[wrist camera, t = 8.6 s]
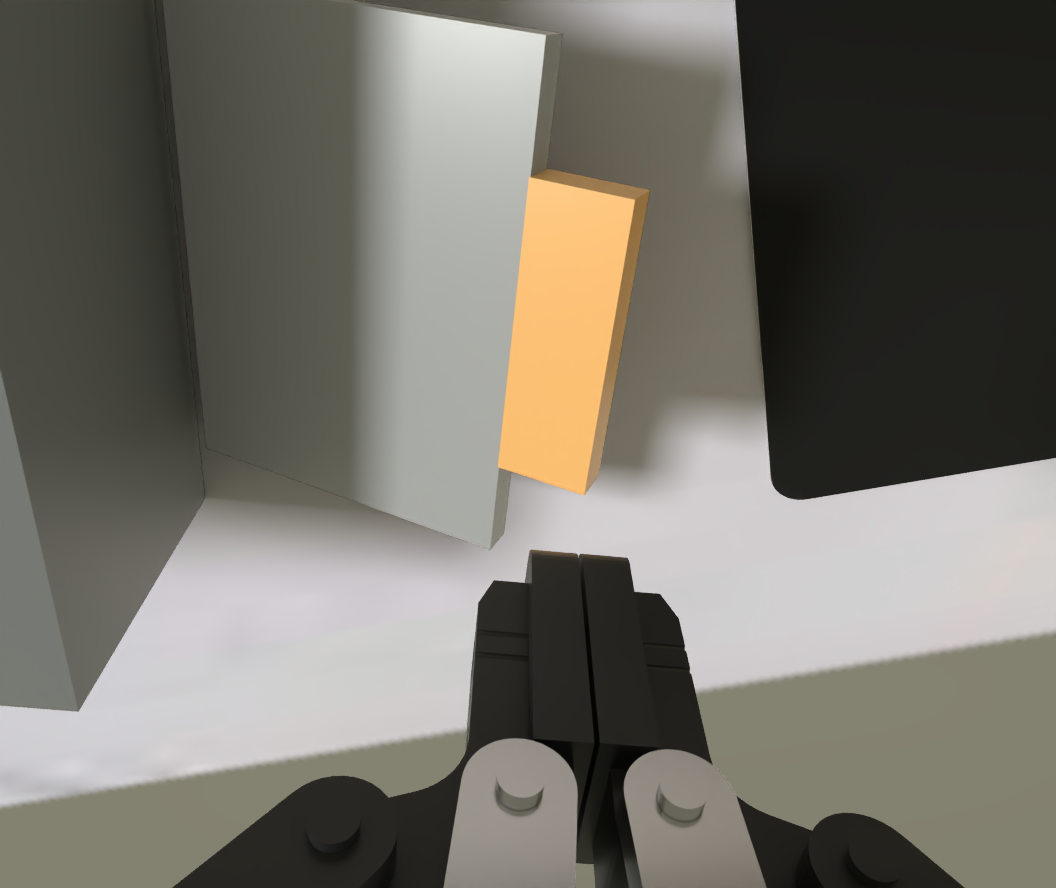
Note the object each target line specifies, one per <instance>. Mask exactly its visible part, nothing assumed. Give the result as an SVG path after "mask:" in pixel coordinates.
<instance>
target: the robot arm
mask: <svg viewBox="0 0 1056 888" xmlns="http://www.w3.org/2000/svg"><path fill="white" fill-rule="evenodd" d="M576 863H583V864H594V875H595V887H596V888H964V887H963V886H962V885H961V884H959V883H958V882H957V881H956V880H955V879H953V878H952V877H951V876H950V875H949V874H947V873H946V872H945V871H944V870H943V869H941V868H940V867H939V866H938V865H937V864H935V863H934V862H933V861H932V860H931V859H930V858H928V857H927V856H926V855H925V854H924V853H922V852H921V851H920V850H919V849H918V848H916V847H915V846H914V845H913V844H912V843H911V842H909V841H908V840H907V839H906V838H904V837H903V836H902V835H901V834H899V833H898V832H897V831H895V830H894V829H893V828H891V827H889V826H888V825H886V824H884V823H883V822H880V821H878V820H876V819H874V818H871V817H868V816H864V815H860V814H854V813H839V814H834V815H831V816H828V817H826V818H824V819H823V820H821V821H820V822H819V823H818V824H817V825H816V826H815V827H814V829H813V831H811V830H808V829H806V828H803V827H801V826H798V825H795V824H792V823H790V822H787V821H784V820H781V819H779V818H776V817H773V816H770V815H768V814H766V813H763V812H761V811H759V810H757V809H755V808H753V807H752V806H750V805H748V804H747V803H745V802H744V801H743V800H741V799H740V798H738V797H737V796H736V794H735V792H734V790H733V788H732V786H731V785H730V783H729V781H728V780H727V779H726V778H725V777H724V775H723V774H722V773H721V772H720V771H719V770H718V769H717V768H715V767H714V766H713V764H712V761H711V758H710V755H709V750H708V746H707V741H706V737H705V733H704V728H703V724H702V719H701V715H700V710H699V706H698V702H697V697H696V693H695V688H694V684H693V680H692V675H691V674H690V666H689V662H688V657H687V653H686V651H685V644H684V640H683V635H682V631H681V627H680V622H679V618H678V617H677V616H676V615H675V613H674V612H673V611H672V609H671V608H670V607H669V605H668V604H667V603H666V601H665V600H664V599H663V598H662V596H661V595H660V594H653V593H641V592H634V587H633V581H632V575H631V569H630V563H629V560H628V558H624V557H612V556H600V555H588V554H580V555H579V558H578V555H577V554H574V553H563V552H551V551H539V550H530V553H529V558H528V564H527V571H526V579H525V583H519V582H507V581H495V580H494V581H493V583H492V584H491V586H490V587H489V588H488V590H487V591H486V593H485V594H484V596H483V597H482V598H481V600H480V601H479V603H478V613H477V622H476V632H475V642H474V651H473V661H472V670H471V682H470V695H469V709H468V722H467V736H466V749H465V755H464V757H463V759H462V760H461V762H460V764H459V765H458V766H457V767H456V768H455V770H454V771H453V772H452V773H451V774H449V775H448V776H447V777H446V778H445V779H443V780H441V781H440V782H438V783H437V784H434V785H433V786H430V787H428V788H425V789H422V790H419V791H416V792H411V793H407V794H403V795H398V796H394V797H390V798H388V797H387V796H386V795H385V794H384V793H383V792H382V791H381V790H380V789H379V788H378V787H376V786H375V785H373V784H372V783H369V782H367V781H365V780H363V779H359V778H355V777H349V776H331V777H326V778H321V779H318V780H315V781H312V782H310V783H308V784H306V785H304V786H302V787H300V788H299V789H297V790H296V791H294V792H293V793H292V794H290V795H289V796H288V797H287V798H285V799H284V800H283V801H281V802H280V803H279V804H278V805H276V806H275V807H274V808H273V809H271V810H270V811H269V812H268V813H266V814H265V815H264V816H262V817H261V818H260V819H259V820H257V821H256V822H255V823H254V824H252V825H251V826H250V827H249V828H247V829H246V830H245V831H243V832H242V833H241V834H240V835H238V836H237V837H236V838H235V839H233V840H232V841H231V842H230V843H228V844H227V845H226V846H225V847H223V848H222V849H221V850H220V851H218V852H217V853H216V854H215V855H213V856H212V857H211V858H209V859H208V860H207V861H206V862H204V863H203V864H202V865H200V866H199V867H198V868H197V869H195V870H194V871H193V872H192V873H190V874H189V875H188V876H187V877H185V878H184V879H183V880H181V881H180V882H179V883H178V884H176V885H175V886H174V887H173V888H575V881H576Z"/></svg>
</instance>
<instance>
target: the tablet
mask: <svg viewBox="0 0 1056 888" xmlns="http://www.w3.org/2000/svg"><path fill="white" fill-rule="evenodd" d="M733 1H734V14H735V27H736V40H737V53H738V66H739V79H740V92H741V105H742V118H743V131H744V144H745V157H746V170H747V183H748V196H749V209H750V222H751V235H752V248H753V261H754V274H755V287H756V300H757V313H758V326H759V339H760V352H761V365H762V378H763V391H764V404H765V417H766V430H767V443H768V456H769V469H770V479H771V482H772V484H773V486H774V488H775V489H776V490H777V491H778V492H779V493H780V494H781V495H783V496H785V497H787V498H791V499H797V500H804V499H811V498H817V497H823V496H829V495H835V494H841V493H847V492H853V491H859V490H865V489H871V488H877V487H883V486H889V485H895V484H901V483H907V482H913V481H919V480H925V479H931V478H937V477H943V476H949V475H955V474H961V473H967V472H973V471H979V470H985V469H991V468H997V467H1003V466H1009V465H1015V464H1021V463H1027V462H1033V461H1039V460H1045V459H1051V458H1056V0H733Z"/></svg>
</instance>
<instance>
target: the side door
mask: <svg viewBox="0 0 1056 888" xmlns="http://www.w3.org/2000/svg"><path fill="white" fill-rule="evenodd" d="M163 10H164V20H165V31H166V41H167V51H168V62H169V72H170V82H171V92H172V103H173V113H174V123H175V134H176V144H177V154H178V164H179V175H180V185H181V195H182V205H183V216H184V226H185V236H186V247H187V257H188V267H189V277H190V288H191V298H192V308H193V319H194V329H195V339H196V349H197V360H198V370H199V380H200V391H201V401H202V411H203V421H204V432H205V442H206V448H208V449H210V450H213V451H216V452H219V453H222V454H224V455H227V456H230V457H233V458H235V459H238V460H241V461H244V462H247V463H249V464H252V465H255V466H258V467H260V468H263V469H266V470H269V471H272V472H274V473H277V474H280V475H283V476H285V477H288V478H291V479H294V480H297V481H299V482H302V483H305V484H308V485H310V486H313V487H316V488H319V489H322V490H324V491H327V492H330V493H333V494H335V495H338V496H341V497H344V498H347V499H349V500H352V501H355V502H358V503H360V504H363V505H366V506H369V507H372V508H374V509H377V510H380V511H383V512H385V513H388V514H391V515H394V516H397V517H399V518H402V519H405V520H408V521H410V522H413V523H416V524H419V525H422V526H424V527H427V528H430V529H433V530H436V531H438V532H441V533H444V534H447V535H449V536H452V537H455V538H458V539H461V540H463V541H466V542H469V543H472V544H474V545H477V546H480V547H483V548H486V549H488V550H491V548H492V547H493V546H494V545H495V543H496V542H497V541H498V540H499V539H500V537H501V536H502V535H503V534H504V529H505V520H506V512H507V503H508V495H509V486H510V478H511V472H514V473H517V474H520V475H523V476H527V477H530V478H533V479H536V480H539V481H542V482H545V483H548V484H551V485H554V486H557V487H560V488H563V489H566V490H569V491H572V492H575V493H578V494H582V495H585V494H586V492H587V491H588V489H589V488H590V487H591V485H592V484H593V482H594V481H595V479H596V478H597V477H598V475H599V470H600V465H601V459H602V454H603V448H604V442H605V437H606V431H607V426H608V420H609V415H610V409H611V404H612V398H613V392H614V387H615V381H616V376H617V370H618V365H619V359H620V354H621V348H622V342H623V337H624V331H625V326H626V320H627V315H628V309H629V304H630V298H631V292H632V287H633V281H634V276H635V270H636V265H637V259H638V254H639V248H640V242H641V237H642V231H643V226H644V220H645V215H646V209H647V204H648V198H649V193H650V190H648V189H643V188H638V187H633V186H628V185H624V184H619V183H614V182H609V181H605V180H600V179H595V178H590V177H585V176H581V175H576V174H571V173H566V172H562V171H557V170H552V169H547V163H548V155H549V146H550V138H551V129H552V121H553V112H554V104H555V95H556V87H557V78H558V70H559V61H560V53H561V44H562V36H563V33H556V32H550V31H544V30H537V29H531V28H524V27H518V26H512V25H505V24H499V23H493V22H486V21H480V20H474V19H467V18H461V17H455V16H448V15H442V14H436V13H429V12H423V11H417V10H410V9H404V8H397V7H391V6H385V5H378V4H372V3H366V2H359V1H353V0H163Z"/></svg>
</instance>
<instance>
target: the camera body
mask: <svg viewBox="0 0 1056 888" xmlns="http://www.w3.org/2000/svg"><path fill="white" fill-rule="evenodd" d="M204 499H205V495H204V485H203V475H202V466H201V456H200V446H199V436H198V426H197V416H196V407H195V397H194V387H193V377H192V367H191V357H190V348H189V338H188V328H187V318H186V308H185V298H184V289H183V279H182V269H181V259H180V249H179V239H178V230H177V220H176V210H175V200H174V190H173V181H172V171H171V161H170V151H169V141H168V131H167V122H166V112H165V102H164V92H163V82H162V72H161V63H160V53H159V43H158V33H157V23H156V13H155V4H154V0H0V705H1V706H14V707H27V708H40V709H52V710H65V711H79V710H80V708H81V706H82V705H83V703H84V701H85V700H86V698H87V696H88V695H89V693H90V691H91V690H92V688H93V686H94V684H95V683H96V681H97V679H98V678H99V676H100V674H101V673H102V671H103V669H104V668H105V666H106V664H107V663H108V661H109V659H110V658H111V656H112V654H113V652H114V651H115V649H116V647H117V646H118V644H119V642H120V641H121V639H122V637H123V636H124V634H125V632H126V631H127V629H128V627H129V626H130V624H131V622H132V620H133V619H134V617H135V615H136V614H137V612H138V610H139V609H140V607H141V605H142V604H143V602H144V600H145V599H146V597H147V595H148V594H149V592H150V590H151V588H152V587H153V585H154V583H155V582H156V580H157V578H158V577H159V575H160V573H161V572H162V570H163V568H164V567H165V565H166V563H167V561H168V560H169V558H170V556H171V555H172V553H173V551H174V550H175V548H176V546H177V545H178V543H179V541H180V540H181V538H182V536H183V535H184V533H185V531H186V529H187V528H188V526H189V524H190V523H191V521H192V519H193V518H194V516H195V514H196V513H197V511H198V509H199V508H200V506H201V504H202V503H203V501H204Z"/></svg>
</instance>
